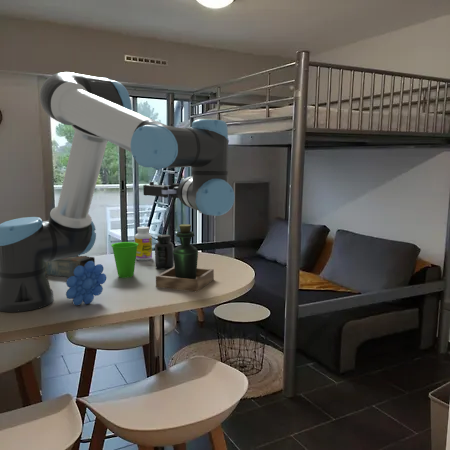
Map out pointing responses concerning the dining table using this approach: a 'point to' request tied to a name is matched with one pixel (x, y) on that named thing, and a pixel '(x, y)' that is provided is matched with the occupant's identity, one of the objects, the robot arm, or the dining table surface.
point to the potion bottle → (185, 254)
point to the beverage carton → (66, 265)
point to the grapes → (85, 283)
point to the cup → (125, 258)
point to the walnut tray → (184, 280)
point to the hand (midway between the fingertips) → (175, 187)
